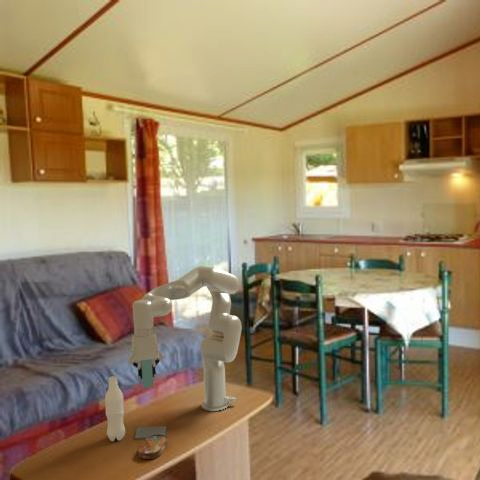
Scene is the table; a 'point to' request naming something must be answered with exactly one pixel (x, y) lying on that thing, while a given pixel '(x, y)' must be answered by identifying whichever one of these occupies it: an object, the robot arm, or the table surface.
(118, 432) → the water bottle
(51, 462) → the table surface
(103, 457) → the table surface
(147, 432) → the mat
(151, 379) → the stick
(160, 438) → the tin
